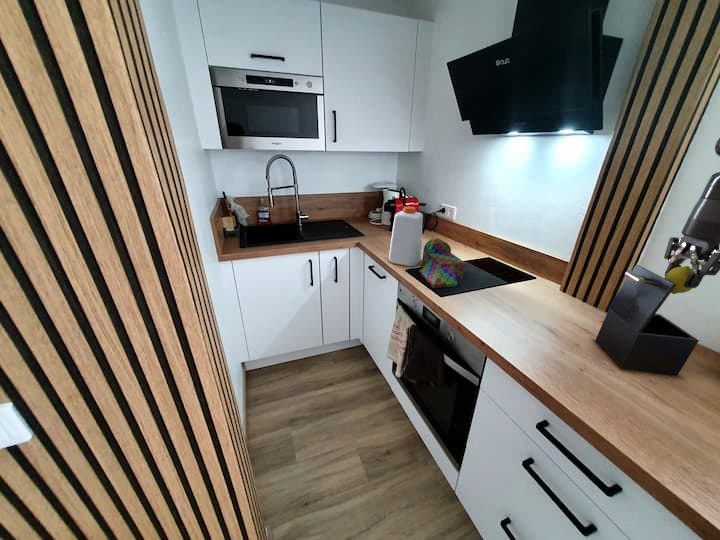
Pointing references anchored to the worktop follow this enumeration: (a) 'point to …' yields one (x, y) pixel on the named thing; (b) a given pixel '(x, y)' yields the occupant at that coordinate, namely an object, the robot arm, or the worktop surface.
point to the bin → (646, 345)
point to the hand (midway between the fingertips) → (679, 281)
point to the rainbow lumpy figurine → (441, 264)
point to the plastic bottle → (406, 237)
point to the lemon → (679, 278)
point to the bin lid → (641, 297)
